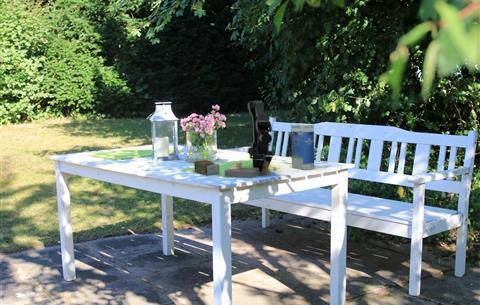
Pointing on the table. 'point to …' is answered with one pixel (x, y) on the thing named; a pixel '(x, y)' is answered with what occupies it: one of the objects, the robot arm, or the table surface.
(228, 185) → the table surface
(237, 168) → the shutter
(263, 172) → the plug
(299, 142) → the string lights box
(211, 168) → the beverage carton
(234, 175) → the socket block
